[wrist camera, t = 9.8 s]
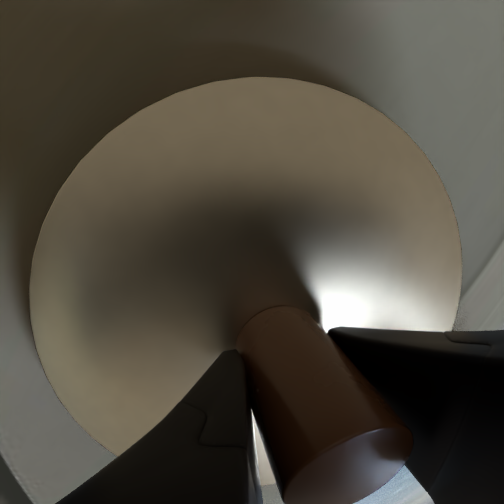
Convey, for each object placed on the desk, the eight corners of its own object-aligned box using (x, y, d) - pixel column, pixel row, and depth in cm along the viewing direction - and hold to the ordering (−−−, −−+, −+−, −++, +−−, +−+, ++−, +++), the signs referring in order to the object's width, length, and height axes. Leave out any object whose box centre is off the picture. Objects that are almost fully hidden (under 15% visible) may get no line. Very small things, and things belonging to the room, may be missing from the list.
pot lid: (123, 484, 11) (120, 593, 5) (5, 134, 7) (-145, 121, 1) (417, 415, 13) (484, 489, 8) (440, 97, 9) (578, 83, 4)
